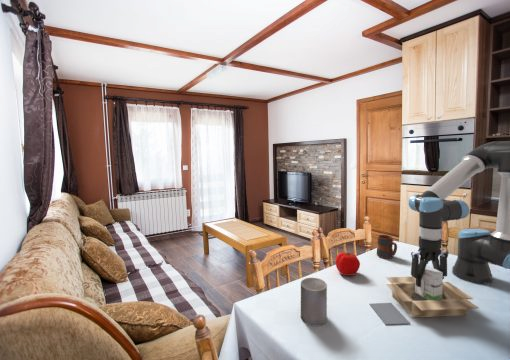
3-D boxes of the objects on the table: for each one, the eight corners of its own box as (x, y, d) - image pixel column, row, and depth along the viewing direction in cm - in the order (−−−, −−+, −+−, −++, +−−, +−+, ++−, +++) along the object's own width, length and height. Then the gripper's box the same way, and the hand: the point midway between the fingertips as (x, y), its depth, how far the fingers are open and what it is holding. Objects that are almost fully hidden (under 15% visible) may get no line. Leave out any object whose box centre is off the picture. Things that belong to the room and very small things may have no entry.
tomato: (331, 274, 137) (331, 253, 136) (340, 266, 146) (340, 246, 145) (354, 281, 130) (355, 258, 128) (363, 272, 138) (363, 251, 137)
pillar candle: (299, 310, 107) (298, 274, 106) (323, 309, 107) (323, 274, 105) (302, 326, 98) (302, 287, 96) (329, 326, 97) (330, 286, 96)
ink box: (443, 301, 105) (444, 272, 103) (432, 303, 103) (433, 274, 102) (423, 290, 113) (424, 263, 112) (414, 292, 112) (414, 265, 110)
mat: (391, 303, 110) (391, 302, 110) (410, 324, 97) (410, 322, 97) (369, 304, 110) (369, 303, 110) (385, 325, 97) (385, 324, 97)
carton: (437, 288, 121) (438, 275, 120) (486, 323, 97) (487, 307, 96) (379, 290, 120) (379, 277, 120) (413, 326, 96) (413, 310, 95)
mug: (390, 262, 149) (391, 242, 148) (373, 255, 160) (373, 235, 159) (401, 259, 153) (402, 239, 152) (383, 252, 164) (384, 233, 162)
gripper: (446, 233, 109) (444, 287, 112) (400, 235, 109) (399, 289, 112) (461, 239, 102) (458, 297, 105) (412, 241, 101) (410, 299, 104)
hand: (428, 293), depth 108 cm, fingers closed on ink box, 6 cm apart
